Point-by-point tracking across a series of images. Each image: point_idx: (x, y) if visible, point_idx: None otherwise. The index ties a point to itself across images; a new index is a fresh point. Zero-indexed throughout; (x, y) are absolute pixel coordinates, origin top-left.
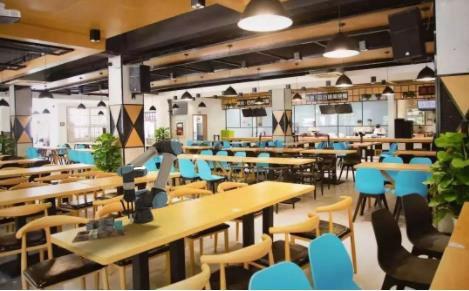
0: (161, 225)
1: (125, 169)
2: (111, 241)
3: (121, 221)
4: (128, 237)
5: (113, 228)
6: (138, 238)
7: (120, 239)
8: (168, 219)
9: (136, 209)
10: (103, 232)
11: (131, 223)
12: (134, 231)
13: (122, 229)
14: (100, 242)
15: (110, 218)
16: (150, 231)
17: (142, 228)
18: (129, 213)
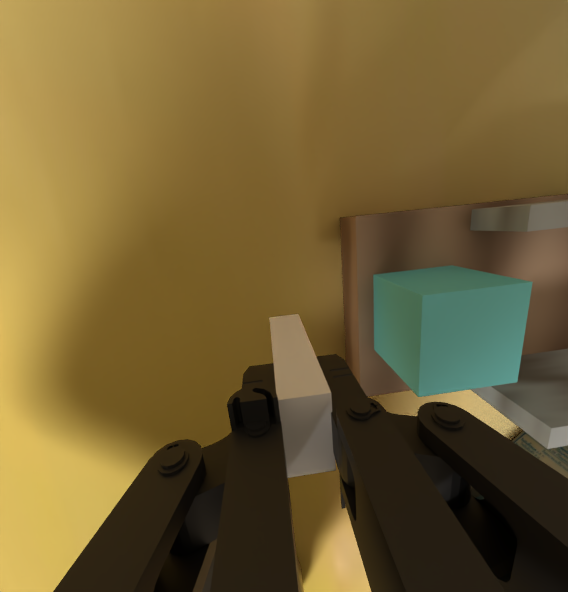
0: (20, 422)
1: None
2: (451, 19)
3: (427, 319)
4: (289, 107)
5: None
6: (169, 6)
7: (365, 60)
8: (6, 572)
9: (95, 543)
10: (564, 199)
11: (281, 317)
12: (255, 307)
13: (372, 266)
14: (550, 34)
15: None
16: (86, 252)
17: (193, 379)
18: (336, 424)
